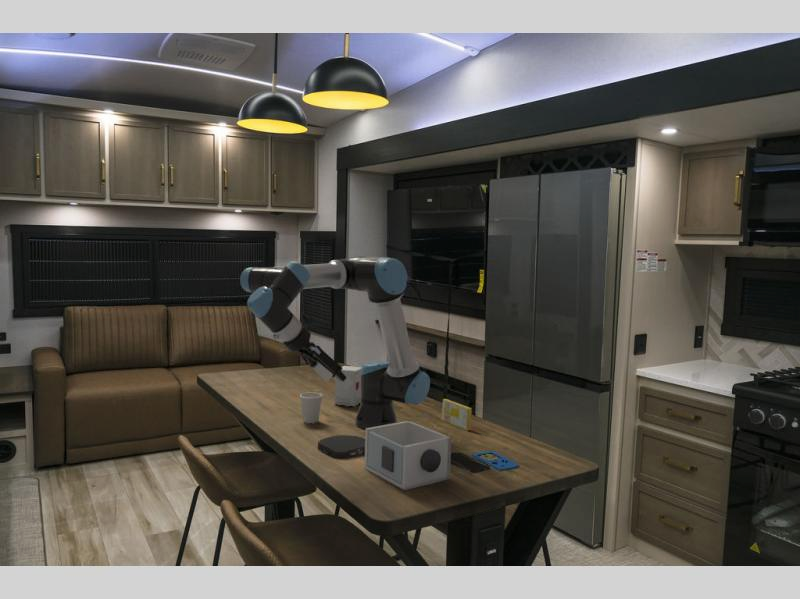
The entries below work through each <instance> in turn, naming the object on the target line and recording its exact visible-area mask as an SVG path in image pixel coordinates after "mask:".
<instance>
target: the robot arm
mask: <svg viewBox="0 0 800 599" xmlns="http://www.w3.org/2000/svg"><path fill="white" fill-rule="evenodd" d="M239 278H240V279H239V280H240V282H239V283H240V286H241V287H242V289H243V290H244V291H245V292H247V293H251V294H250V296H249V298H248V299H247V303H246V305H247V307H248V308H249V310H250V311H251V312H252V313H253V315H254V316H255V317H256V318H257V319H258V320H259V321H260V322H261V323H262V324H264V326H265V327H266V328H268V329H269V330H270V331H271V333H273V334H274V336H273V337H274V338H275V339H278V340H279V341H280V342H282V343H283V345H284V346H285V347H286V348H287V349H288V350H289V352H296V353H297V355H299V357H300V358H301V359H302V361H303V362H304V363H305V365H307V366H309V367H310V368H312V369H313V370H314V371H315V372H316V373H317V374H318V375H319V376H320V378H322V379H323V380H324V381H325V382H326V383H329V381H330V380H331V379H332V378H333V379H335V378H336V379H337V381H338V382H339V383H340V384H341V385H342V386H343V387H344V388H345V389H346V390H348V389H349V387H350V386H351V385H352V384H353V382H352V381H351V380H350V379H349V378H348V377H347V376H346V374H345V373H344V372H343V371H342V369H343V368H342V367H343V366H342V365H340V364H339V363H337V361H336V360H334V359H333V358H332V357H331V356H330V355H329V354H328V353H326V352H325V351H324V350H323V349H322V347H321V346H320V345H318V344H316V343H314V342H312V341H310V339H311V336H312V333H311V332H310V331H309V329H307V327H306V326H305V325H304V324H302V322H301V321H300V320H299V319H298V318H297V316H296V315H295V314H293V312H292V311H290V309H289V308H290V306H291V305H292V303H293V302H294V300H295V299H296V298H297V297H298V295H299V294H300V293H301V292H302V290H305V289H306V290H307V289H317V288H329V287H330V288H332V289H333V290H334V289H335V290H338V289H343V290H352V291H357V292H358V291H359V292H366V293H367V295H368V296H367V297H368V301H369V302H370V303H371V304H373V305H375V310H376V313H377V314H376V315H377V318H378V323H379V326H380V331H381V335H382V339H383V343H384V347H385V352H386V355H387V360H384V361H381V360H380V361H374V362H373V361H372V362H366V363H364V364H363V365H362V366H361V367H362V373H361V403H360V404H359V408H358V410H357V414H356V417H355V425H357V426H356V427H358V428H361V429H364V430H365V428H371V427H377V426H382V425H388V424H393V423H398V419H397V414H396V411H395V409H394V404H393V403H394V402H398V403H402V404H406V405H415V406H416V405H419V404H421V403H423V402H424V400H426V398H427V395H428V393H429V391H430V385H431V379H430V376H429V374H427V373H426V372H425V371H421V367H420V363H419V362H418V361H417V360H415V359H414V355H413V351H412V346H411V342H410V338H409V333H408V328H407V324H406V319H405V315H404V314H405V313H404V311H403V305H402V301H401V298H402V297H403V296H404V291H405V290H406V287H407V286H408V285H407V282H408V273H407V270H406V267H405V265H404V264H403V263H402V262H401V261H400V260H399V259H397V258H393V257H388V256H380V257H379V256H353V257H348V258H341V259H332V260H330V261H329V262H327V263H315V264H301V263H300V262H298V261H289V262H288V263H287V264H286V265H283V266H282V265H281V266H267V267H257V266H254V267H247V268H244V269H243V271H242V272H241V274H240V277H239ZM393 401H394V402H393Z"/></svg>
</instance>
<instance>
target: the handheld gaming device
mask: <svg viewBox="0 0 800 599" xmlns="http://www.w3.org/2000/svg"><path fill="white" fill-rule="evenodd" d="M486 454H493V455H492V457H494V458H493V459H487V460H485V459H483V458H481V457H480V456H481V455H484V456H485V457H488V456H487V455H486ZM494 455H495V456H494ZM496 456H497V457H498V458H497V457H496ZM471 457H472V458H474V459H476V460H478V459H479V461H480V460H481V462H482V461H483V463H484V462H485V463H487V464H489V465H490V467H491V466H492V467H491V468H493V467H494V469H495V470H497V471H499V472H502V471H508V470H512V469H517V468H519V463H518V462H516V461H514V460H511V459H510V458H507V457H506V456H503V455H502V454H500V453H498V452H496V451H493V450H488V451H483V452H476V453H472V454H471ZM499 458H500V459H499Z"/></svg>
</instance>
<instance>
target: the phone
mask: <svg viewBox="0 0 800 599" xmlns="http://www.w3.org/2000/svg"><path fill="white" fill-rule="evenodd" d="M450 465H453V466H455V467H458V468H459V467H460V469H462V470H464V471H466V472H468V471H469V472H468V473H471V472H472V474H473V473H474V472H475V473H479V472H482V471H486V470H490V467H491V466H490V465H488V464H486V463H484V462H482V461H480V460H478V459H477V458H475V457H473V456H469V455H468V454H467V455H466V454H465V453H462V452H460V451H459V452H451V463H450ZM485 469H486V470H485ZM481 470H482V471H481ZM478 471H479V472H478Z"/></svg>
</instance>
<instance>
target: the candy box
mask: <svg viewBox="0 0 800 599" xmlns="http://www.w3.org/2000/svg"><path fill="white" fill-rule="evenodd" d="M441 406H442V409H441V421H443V422H445V421H446V422H445V423H447V422H448V424H451V425H452V426H454V427H457V428H459V429H462V430H463V431H466V432H470V431H471V427H472V413H473V411H472V410H473V408H472V407H469V406H466V405H464V404H461V403H459V402H455V401H453V400H450V399H447V398H443V399H442V405H441ZM469 430H470V431H469Z"/></svg>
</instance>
